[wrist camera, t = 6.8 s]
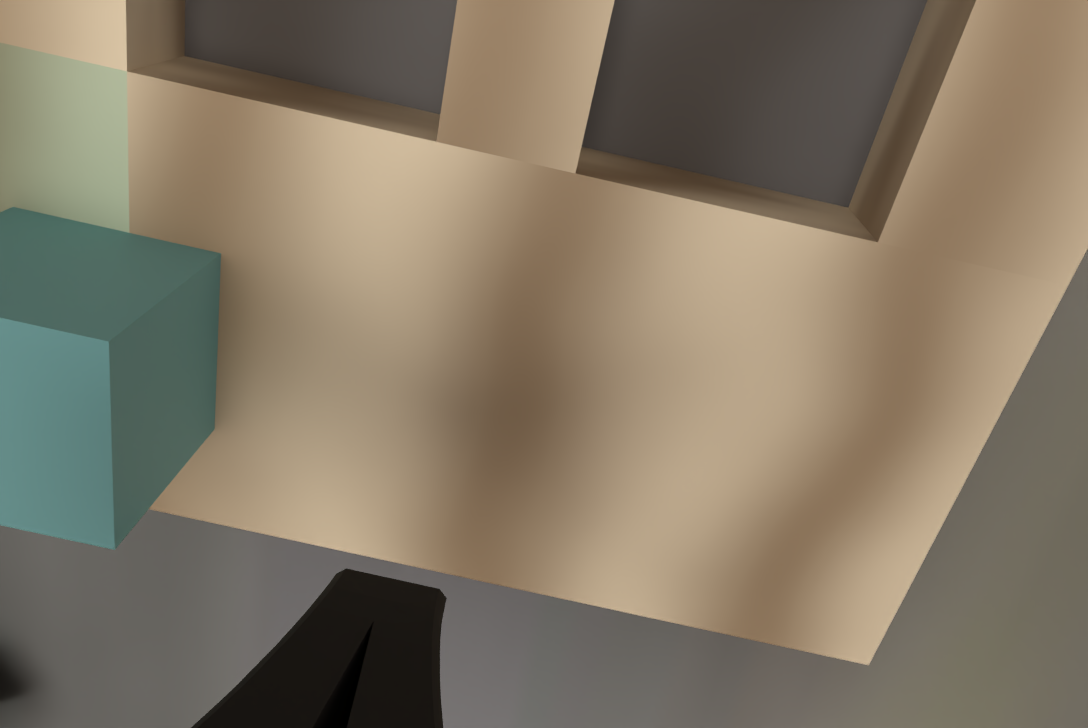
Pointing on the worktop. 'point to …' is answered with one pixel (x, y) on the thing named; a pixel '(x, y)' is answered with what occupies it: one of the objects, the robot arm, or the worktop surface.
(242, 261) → the board
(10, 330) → the block
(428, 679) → the robot arm
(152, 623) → the worktop surface
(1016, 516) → the worktop surface
